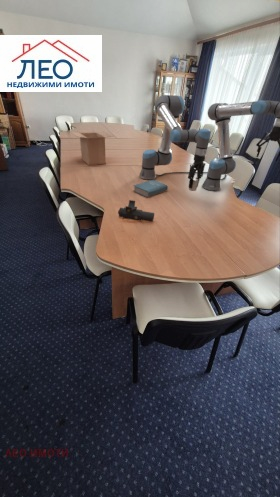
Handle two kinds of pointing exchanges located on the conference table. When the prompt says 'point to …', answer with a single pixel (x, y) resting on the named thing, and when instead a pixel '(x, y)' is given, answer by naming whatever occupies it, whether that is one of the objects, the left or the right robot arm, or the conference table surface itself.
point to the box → (92, 146)
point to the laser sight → (135, 213)
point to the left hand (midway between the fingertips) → (193, 187)
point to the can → (194, 184)
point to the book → (150, 188)
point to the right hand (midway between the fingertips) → (266, 158)
